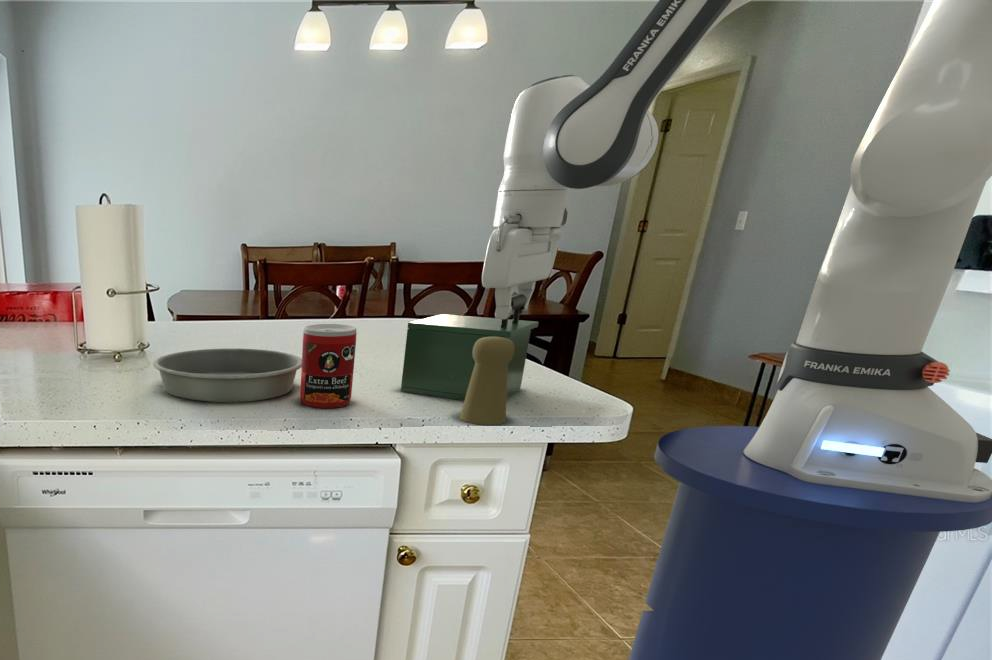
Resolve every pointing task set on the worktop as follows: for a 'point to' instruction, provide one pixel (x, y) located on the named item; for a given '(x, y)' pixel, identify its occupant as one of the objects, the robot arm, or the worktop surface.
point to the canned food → (327, 365)
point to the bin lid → (479, 322)
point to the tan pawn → (488, 382)
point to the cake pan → (228, 374)
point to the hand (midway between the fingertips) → (511, 315)
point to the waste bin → (452, 362)
